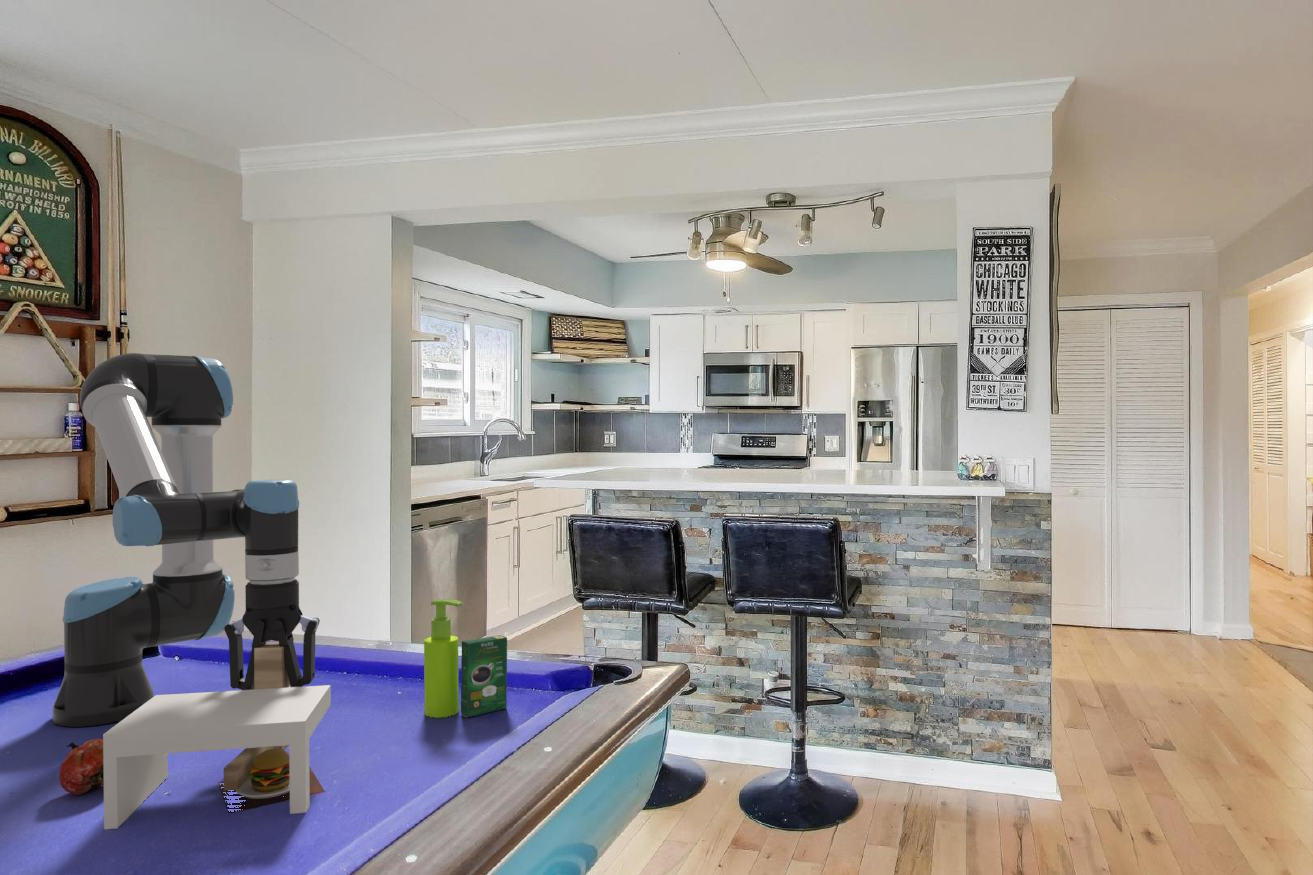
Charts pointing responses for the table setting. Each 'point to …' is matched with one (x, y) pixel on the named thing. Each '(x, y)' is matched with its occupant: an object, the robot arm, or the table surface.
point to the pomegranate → (83, 767)
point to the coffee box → (483, 675)
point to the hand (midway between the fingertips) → (273, 730)
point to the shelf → (208, 738)
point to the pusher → (266, 676)
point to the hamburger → (268, 781)
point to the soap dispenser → (441, 665)
